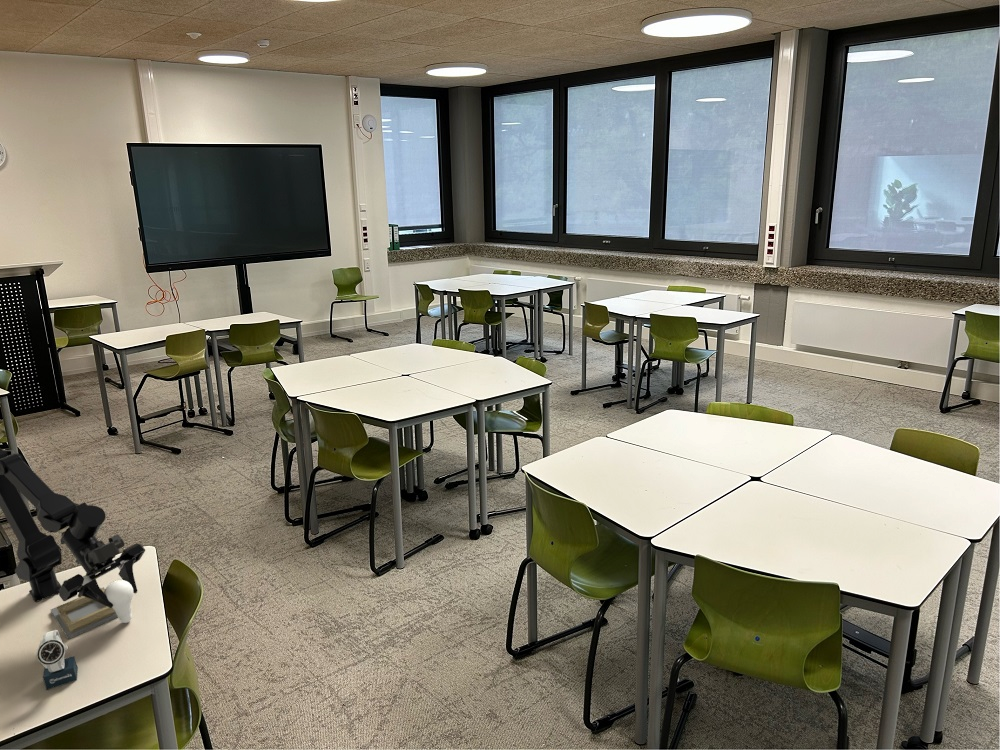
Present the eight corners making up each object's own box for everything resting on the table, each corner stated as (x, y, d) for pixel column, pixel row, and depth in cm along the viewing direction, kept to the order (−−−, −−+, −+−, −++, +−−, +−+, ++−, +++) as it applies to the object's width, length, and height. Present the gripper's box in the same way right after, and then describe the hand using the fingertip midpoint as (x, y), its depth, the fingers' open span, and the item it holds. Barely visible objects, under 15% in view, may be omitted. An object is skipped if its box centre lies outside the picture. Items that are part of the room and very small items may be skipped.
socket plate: (51, 612, 172) (48, 602, 171) (104, 589, 180) (101, 580, 179) (68, 639, 162) (65, 628, 161) (123, 614, 170) (121, 604, 169)
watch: (45, 695, 145) (31, 651, 141) (49, 672, 152) (35, 629, 148) (76, 685, 147) (63, 641, 144) (78, 662, 154) (66, 620, 151)
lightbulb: (129, 631, 163) (117, 591, 160) (106, 629, 164) (94, 589, 161) (146, 614, 169) (135, 575, 165) (124, 612, 170) (113, 573, 167)
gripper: (52, 551, 154) (93, 608, 152) (131, 512, 169) (170, 563, 167) (42, 573, 160) (81, 628, 158) (119, 534, 175) (156, 583, 173)
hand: (124, 599), depth 164 cm, fingers closed on lightbulb, 6 cm apart
